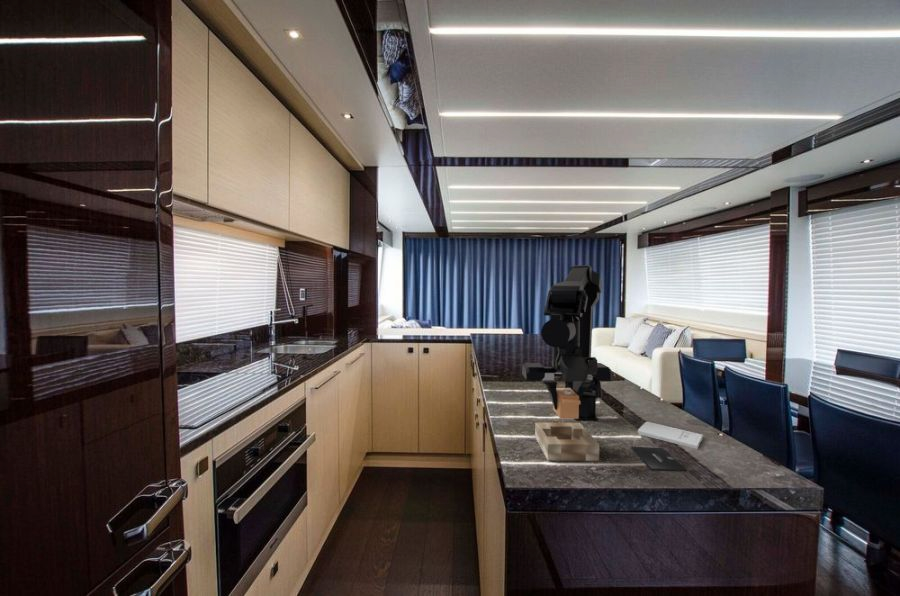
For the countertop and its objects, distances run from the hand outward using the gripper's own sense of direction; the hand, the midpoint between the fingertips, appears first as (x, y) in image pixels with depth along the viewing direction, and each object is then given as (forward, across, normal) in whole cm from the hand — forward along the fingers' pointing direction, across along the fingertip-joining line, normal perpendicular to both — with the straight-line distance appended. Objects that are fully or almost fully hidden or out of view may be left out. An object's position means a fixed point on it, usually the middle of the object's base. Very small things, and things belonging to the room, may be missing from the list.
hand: (565, 409), depth 82 cm
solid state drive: (+10, +18, -5) cm, 21 cm away
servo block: (+1, 0, 0) cm, 1 cm away
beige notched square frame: (+9, 0, 0) cm, 9 cm away
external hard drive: (+10, +28, +7) cm, 30 cm away
